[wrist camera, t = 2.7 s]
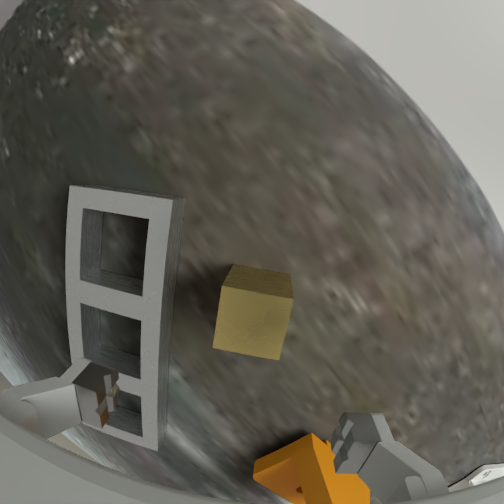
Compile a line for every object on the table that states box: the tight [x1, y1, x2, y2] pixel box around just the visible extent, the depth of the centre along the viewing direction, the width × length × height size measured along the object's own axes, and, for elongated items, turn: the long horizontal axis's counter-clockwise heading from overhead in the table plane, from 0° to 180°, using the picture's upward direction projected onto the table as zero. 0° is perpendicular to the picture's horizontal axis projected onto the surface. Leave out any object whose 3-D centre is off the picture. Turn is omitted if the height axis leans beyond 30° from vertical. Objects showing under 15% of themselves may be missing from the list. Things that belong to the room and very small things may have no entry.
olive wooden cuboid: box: [213, 264, 294, 360], centre depth 20 cm, size 4×4×5 cm
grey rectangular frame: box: [65, 185, 187, 451], centre depth 22 cm, size 8×22×3 cm, turn 170°
